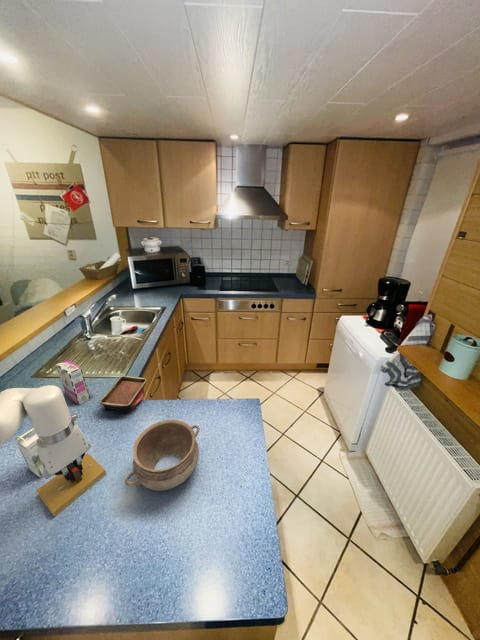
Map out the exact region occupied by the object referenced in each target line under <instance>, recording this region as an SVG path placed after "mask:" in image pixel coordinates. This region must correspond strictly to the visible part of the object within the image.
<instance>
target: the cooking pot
mask: <svg viewBox="0 0 480 640" xmlns="http://www.w3.org/2000/svg"><path fill="white" fill-rule="evenodd" d="M194 429H196V431H194ZM200 430H201V429H200V425H197V424H194V425H191V426H190V425H189V424H188V423H187V422H185V421H183V420H180V419H164V420H160V421H157V422H154V423H153V424H151V425H149V426H148V427H146V428H145V429H144V430H143V431H141V433H140V434H139V435H138V436H137V438H136V440H135V441H134V444H133V447H132V457H133V460H132V468H133V469H132V471H131V472H130V473H128V475H127V476H126V477H125V479H124V483H125V485H126V486H128V487H132V486H133V487H134V486H137V485H141V486H143V487H145V488H147V489H149V490H152V491H159V492H160V491H161V492H162V491H168V490H172V489H174V488H177V487H178V486H180V485H181V484H183V483H184V482H185V481H187V480H188V478H189V477H190V476H191V475H192V473H193V472H194V470H195V469H196V466H197V464H198V460H199V455H200V451H199V450H200V449H199V444H198V441H197V439H196V438H197V437H198V435H199V433H200ZM168 456H175V457H178V458H180V459H181V460H180V461H179V462H177V463H176V464H175V465H172V466H169V467H167V468H162V469H155V468H156V467H157V464H158V462H160V461H161V460H162V459H163V458H165V457H168ZM133 476H135V478H136V480H134V481H130V478H131V477H133Z"/></svg>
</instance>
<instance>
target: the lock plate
mask: <svg viewBox="0 0 480 640" xmlns="http://www.w3.org/2000/svg"><path fill="white" fill-rule="evenodd" d="M81 464H82V467H83V469H82V473H83V475H81V476H82V480H81V481H80V482H79V483H78V484H77V483H76V482H75V481H74V482H71V481H70V479H69V480H68V481H67V480H66V479H65V477H64V475H63V474H62V475H54V476H53V477H52V478H51V479H49V481H47V482H46V483H44V484H43V485H41V486H40V487H39V488H37V489H36V493H37V495H38V496H39V497H40V499H41V500H42V502H43V503H44V505H45V506H46V508H47V509H48V511H49V512H50V513H51V514H52V516H53V517H54V518H56V517H57V516H59V514H61V513H62V512H63V511H64V510H66V508H68V507H69V506H70V505H72V503H74V502H75V501H77V499H79V498H80V497H81V496H82V495H84V494H85V493H86V492H87V491H88V490H90V489H91V488H92V487H93V486H94V485H95V484H97V483H98V482H99V481H100V480H101V479H102V478H104V477H105V476H106V475H107V471H106V469H105V468H104V466H102V465H101V464H100V463H99V462H97V460H96V459H95V458H94V457H93V456H92V455H91V454H89V453H88V452H86V453H85V455H84V457H83V459H82V463H81Z"/></svg>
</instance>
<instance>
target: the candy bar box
mask: <svg viewBox="0 0 480 640" xmlns="http://www.w3.org/2000/svg"><path fill="white" fill-rule="evenodd" d="M55 366H56V370H57V372H58V375H59V378H60V380H61V384H62V387H63V389H64V393H65V396H66V397H67V398H68V399H70V400H71V401H73V402H75V403H76V404H77V405H81V404H83V403H85V402H87V401H89V400H90V399H91V397H90V393H89V390H88V386H87V382H86V379H85V376H84V372H83V369H82V367H80V366H79V365H78V364H76V363H74V362H72V361H71V360H70V359H66V360H64V361H61V362H58V363H56V364H55Z"/></svg>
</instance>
